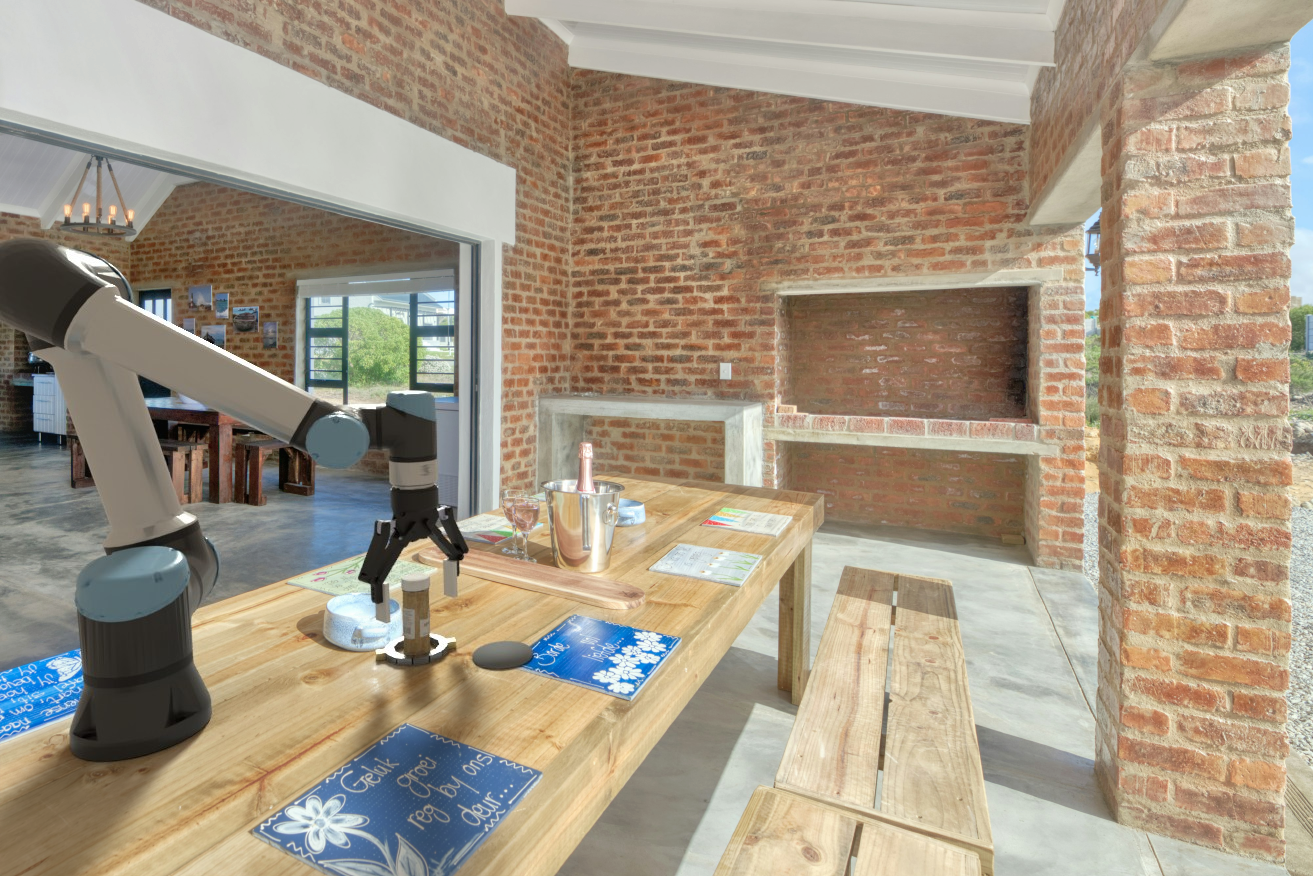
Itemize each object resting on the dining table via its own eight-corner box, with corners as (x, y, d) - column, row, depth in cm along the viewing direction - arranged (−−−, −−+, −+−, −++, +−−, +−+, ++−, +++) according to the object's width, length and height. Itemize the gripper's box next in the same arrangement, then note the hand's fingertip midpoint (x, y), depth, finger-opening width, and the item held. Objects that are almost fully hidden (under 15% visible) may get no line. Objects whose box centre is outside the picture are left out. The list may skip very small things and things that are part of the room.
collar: (379, 671, 109) (379, 664, 109) (374, 646, 118) (373, 640, 118) (460, 657, 115) (460, 650, 115) (450, 634, 124) (450, 628, 123)
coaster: (479, 673, 109) (479, 671, 109) (467, 648, 118) (467, 646, 118) (540, 662, 114) (540, 660, 114) (523, 639, 123) (523, 637, 122)
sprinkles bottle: (434, 654, 116) (433, 577, 114) (406, 660, 113) (404, 582, 111) (426, 644, 119) (425, 570, 118) (399, 650, 117) (398, 574, 115)
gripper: (359, 501, 100) (365, 638, 103) (487, 475, 121) (489, 590, 124) (329, 494, 104) (336, 627, 107) (458, 471, 125) (461, 582, 128)
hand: (418, 607), depth 115 cm, fingers open, 13 cm apart
